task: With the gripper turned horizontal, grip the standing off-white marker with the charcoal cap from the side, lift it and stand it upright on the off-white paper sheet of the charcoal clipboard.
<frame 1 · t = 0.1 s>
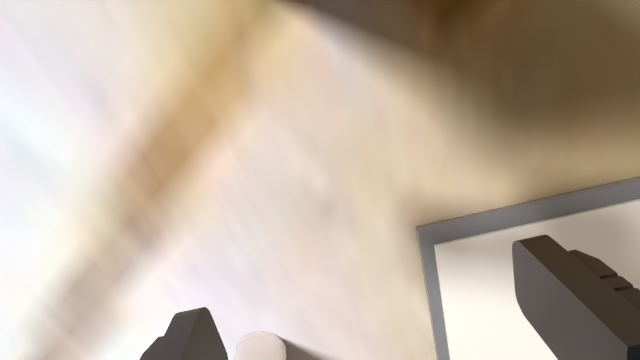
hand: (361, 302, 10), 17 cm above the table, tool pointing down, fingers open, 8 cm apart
clipboard: (594, 298, 33), on the table
marker: (261, 350, 34), on the table
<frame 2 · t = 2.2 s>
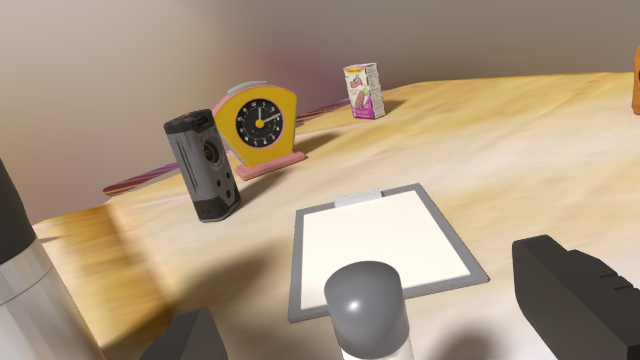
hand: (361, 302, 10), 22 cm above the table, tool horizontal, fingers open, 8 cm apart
clipboard: (368, 239, 55), on the table
candy bar box: (369, 117, 125), on the table
electronic device: (222, 212, 78), on the table
yellow desk clock: (271, 167, 99), on the table
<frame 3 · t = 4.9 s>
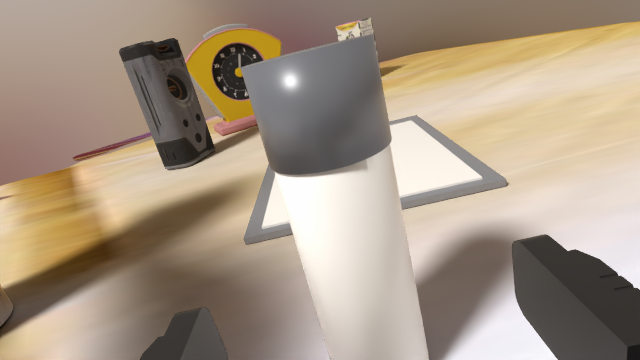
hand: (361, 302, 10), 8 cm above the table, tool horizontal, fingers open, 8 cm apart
clipboard: (355, 164, 45), on the table
candy bar box: (363, 80, 115), on the table
electronic device: (192, 161, 68), on the table
yellow desk clock: (253, 124, 90), on the table
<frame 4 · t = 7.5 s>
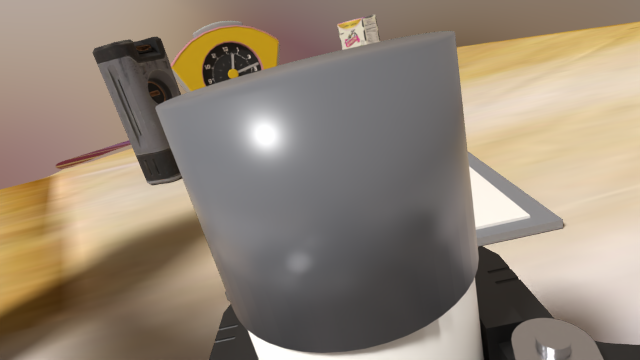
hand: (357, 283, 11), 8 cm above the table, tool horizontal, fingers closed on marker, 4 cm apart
clipboard: (363, 186, 38), on the table
candy bar box: (367, 81, 108), on the table
electronic device: (178, 173, 61), on the table
yellow desk clock: (248, 130, 82), on the table
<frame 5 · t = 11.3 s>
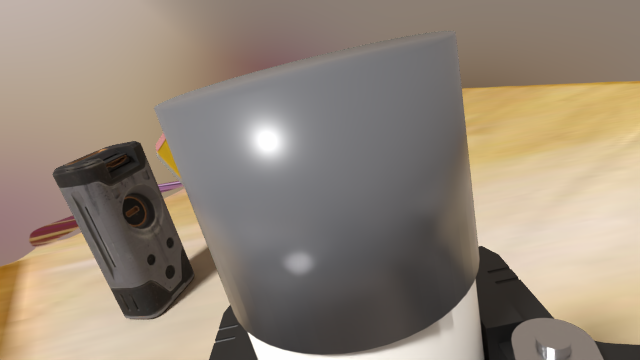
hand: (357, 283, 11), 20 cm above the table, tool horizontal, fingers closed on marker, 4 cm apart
electronic device: (162, 296, 51), on the table
yellow desk clock: (246, 210, 72), on the table
when the fingers open (10 cm above the table, at t = 15.5 s): marker stays where it is, resting on clipboard.
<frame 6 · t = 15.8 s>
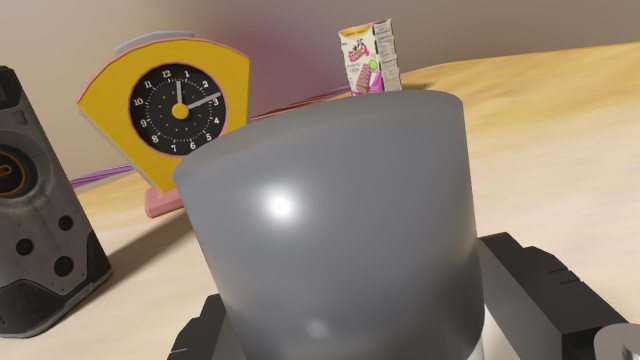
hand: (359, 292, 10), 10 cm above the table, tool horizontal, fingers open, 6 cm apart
candy bar box: (378, 107, 81), on the table
electronic device: (60, 303, 35), on the table
yellow desk clock: (208, 189, 56), on the table
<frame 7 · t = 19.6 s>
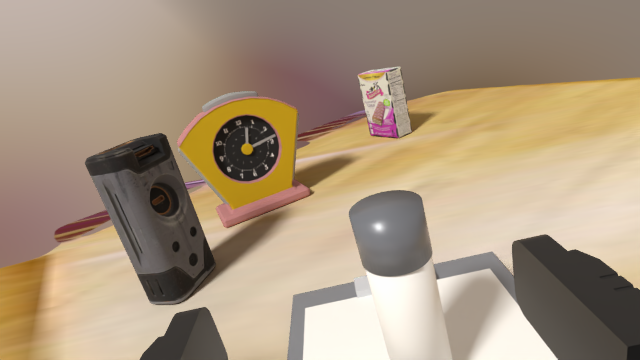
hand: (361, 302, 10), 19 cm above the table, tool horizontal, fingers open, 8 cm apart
candy bar box: (390, 135, 99), on the table
electronic device: (185, 284, 53), on the table
yellow desk clock: (264, 206, 74), on the table
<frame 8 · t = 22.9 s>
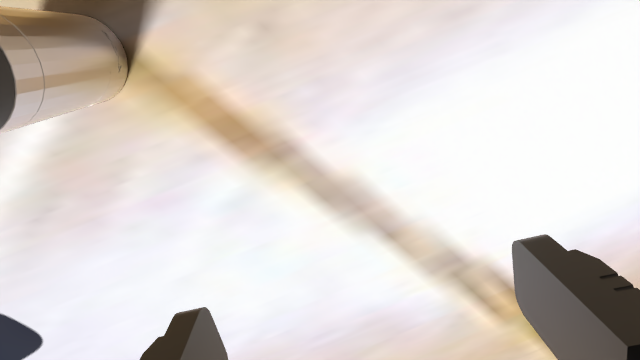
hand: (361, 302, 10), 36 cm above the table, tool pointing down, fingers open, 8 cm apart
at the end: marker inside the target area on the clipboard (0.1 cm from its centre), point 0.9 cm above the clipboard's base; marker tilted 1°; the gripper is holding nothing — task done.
